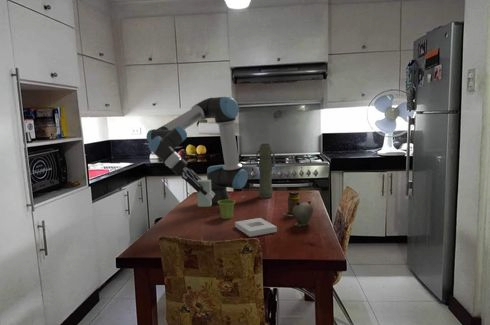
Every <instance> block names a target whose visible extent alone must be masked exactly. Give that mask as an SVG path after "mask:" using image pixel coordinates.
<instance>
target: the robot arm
mask: <svg viewBox="0 0 490 325" xmlns="http://www.w3.org/2000/svg"><path fill="white" fill-rule="evenodd" d="M238 115H239V105H238V103H237V101H236V99H235V98H233V97H230V96H228V97H227V96H220V97H219V96H218V97H209V98H206V99H203V100H201V101H200V102H197V103H196V104H194V105H193V106H192V107H191V108H190V109H189V110H188V111H186V112H184V113H183V114H181V115H179V116H178V117H176V118H173V119H172V120H171V121H168V122H167V123H165V124H163V125H162V126H160V127H158V128H155V129H150V130H148V132H147V133H146V140H147V142H148V143H149V144H148V145H147V146H148V147H147V148H148V149H150V151H151V152H152V154H154V155H155V156H156V157H158V159H160V161H161V162H163V163H164V165H165V166H166V167H168V168H169V169H171V171H172V172H173V173H174V174H175V175H181V179H183V180H185V181H186V183H187V184H189V186H191V187H192V188H193V189H194V190H195V191H196V193H197V192H199V191H200V192H201V193H202V194H203V195H204V196H205V197H206V198H207V199H208V200H209V201H210V200H211V199H212V205H211V206H219V204H218V201H220V200H230V195H229V192H228V190H227V188H230V189H234V190H236V189H239V190H240V189H243V188H245V186H246V184H247V182H248V177H249V175H248V171H247V170H246V169H244V168H243V164H242V163H240V160H239V152H238V145H237V140H236V132H235V131H236V130H235V125H234V123H235V121H236V120H237V119H236V117H237V116H238ZM206 119H214V121H215V124H217V125H218V129H219V136H220V142H221V143H220V144H221V148H222V155H223V156H222V157H223V161H224V164H218V165H217V164H216V165H211V166H209V167H207V171H206V178H207V179H206V180H211V194H210V193H209V192H208V191H207V190H206V189H205V188H204V187H202V186H201V185H200V184H199V183H198V182H197V181H198V180H203V179H202V178H201V177H200V176H199V175H198V174H197V173H196V172H195V171H194V170H193V169H192V168H188V167H187V166H188V162H187V160H185V159H184V158H182V156H181V155H180V154H179V153H178V152H177V151H176V150H175V149H176V148H177V147H178V146H179V145H180V144H182V143H183V142H184V141H186V140H187V137H188V133H187V132H186V131H187V130H186V129H187V128H189V127H191V126H192V125H194V124H195V123H198V122H202V121H204V120H206Z"/></svg>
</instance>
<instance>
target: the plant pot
mask: <svg viewBox="0 0 490 325" xmlns="http://www.w3.org/2000/svg"><path fill="white" fill-rule="evenodd" d="M235 203H236V200H232V199H229V200H220V201H218V204H219V205H218V207H219V213H220V218H221V219H224V220H228V219H232V218H233V216H234V208H235Z"/></svg>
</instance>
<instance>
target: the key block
mask: <svg viewBox="0 0 490 325" xmlns="http://www.w3.org/2000/svg"><path fill="white" fill-rule="evenodd" d="M197 182H198V183H199V184H200V185H201V186H202V187H204V188H205V189H206V190H207V191H208V192H209V193H210V194H211V180H207V179H202V180H198V181H197ZM196 195H197V197H196V199H197V207H211V206H213V205H212V199H211V200H210V201H209V200H208V199H207V198H206V197H205V196H204V195H203V194H202V193H201V192H200V191H199V192H197V191H196Z"/></svg>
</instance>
